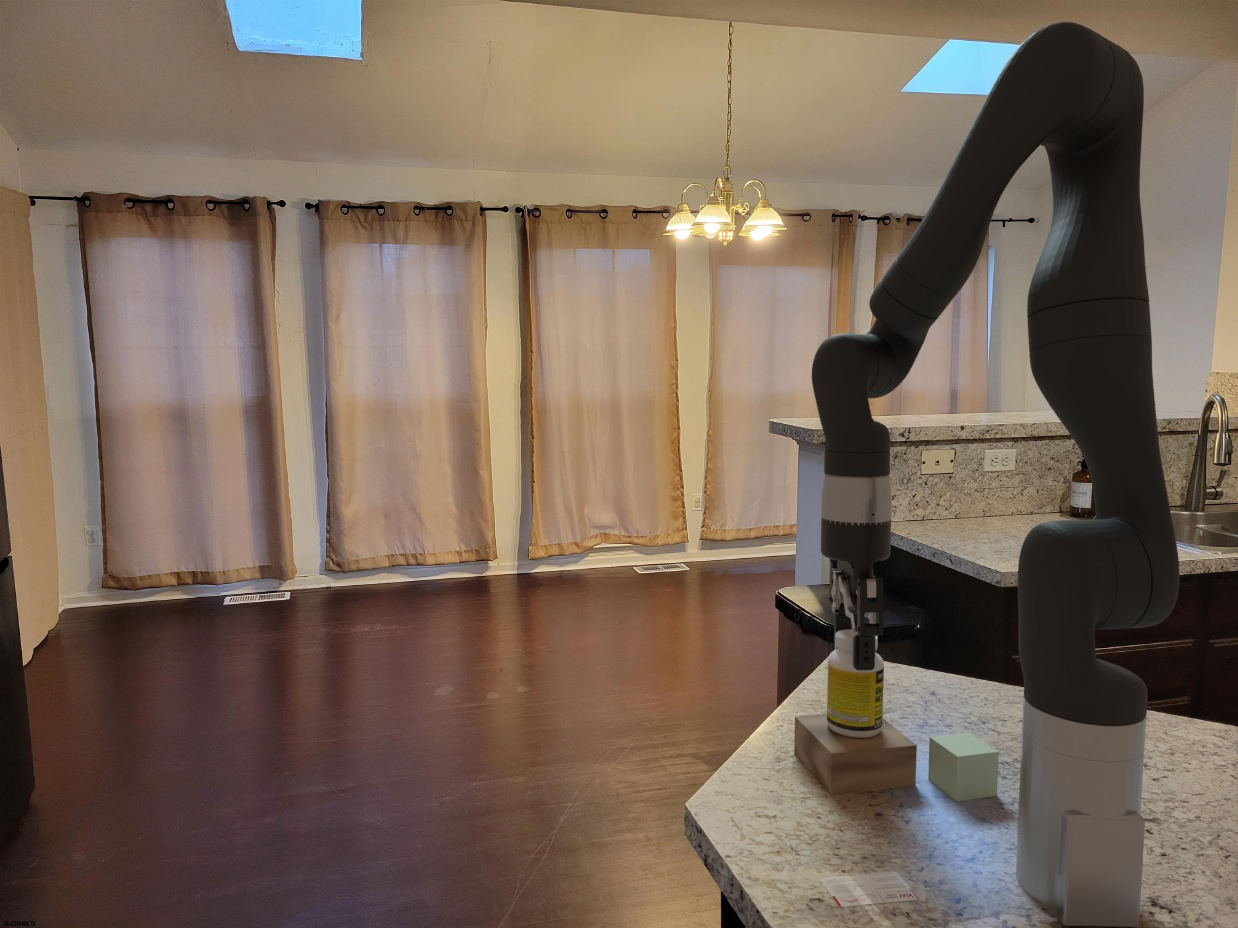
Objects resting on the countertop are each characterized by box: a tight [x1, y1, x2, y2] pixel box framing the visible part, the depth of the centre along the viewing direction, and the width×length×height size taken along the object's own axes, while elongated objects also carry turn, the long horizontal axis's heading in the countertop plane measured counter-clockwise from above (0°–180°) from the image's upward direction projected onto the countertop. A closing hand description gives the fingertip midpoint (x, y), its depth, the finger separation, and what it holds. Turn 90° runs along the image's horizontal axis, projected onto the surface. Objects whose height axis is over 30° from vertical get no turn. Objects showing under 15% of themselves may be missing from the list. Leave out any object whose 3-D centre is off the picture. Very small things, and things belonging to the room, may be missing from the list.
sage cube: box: [927, 732, 1000, 802], centre depth 90 cm, size 5×5×5 cm
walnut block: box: [793, 713, 918, 795], centre depth 95 cm, size 10×10×5 cm
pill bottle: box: [826, 629, 885, 738], centre depth 95 cm, size 6×6×11 cm
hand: (853, 656), depth 94 cm, fingers open, 8 cm apart
